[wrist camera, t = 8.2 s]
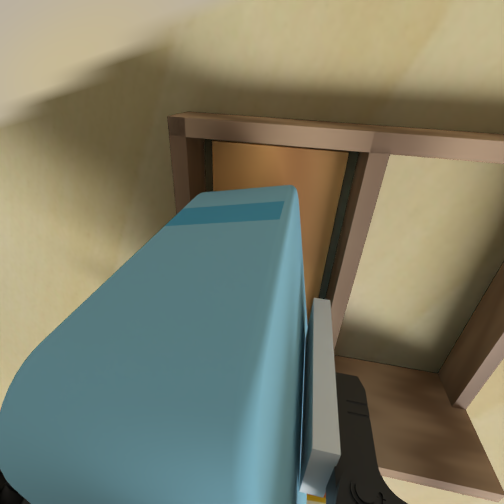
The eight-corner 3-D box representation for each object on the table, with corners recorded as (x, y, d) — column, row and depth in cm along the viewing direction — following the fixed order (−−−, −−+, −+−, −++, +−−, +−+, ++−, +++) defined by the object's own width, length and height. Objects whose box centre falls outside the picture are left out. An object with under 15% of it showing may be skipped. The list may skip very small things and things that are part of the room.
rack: (201, 338, 23) (163, 426, 17) (188, 111, 15) (103, 130, 9) (445, 382, 21) (497, 501, 15) (596, 140, 12) (860, 193, 6)
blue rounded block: (205, 183, 14) (-64, 429, 4) (297, 174, 13) (238, 476, 3) (243, 352, 20) (169, 630, 10) (309, 355, 19) (303, 671, 9)
